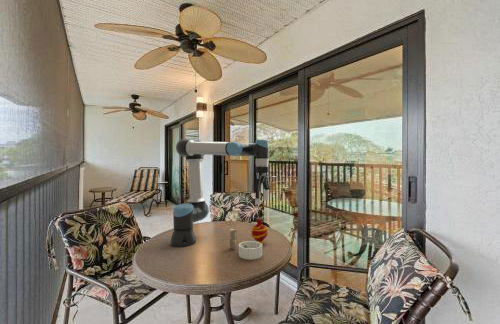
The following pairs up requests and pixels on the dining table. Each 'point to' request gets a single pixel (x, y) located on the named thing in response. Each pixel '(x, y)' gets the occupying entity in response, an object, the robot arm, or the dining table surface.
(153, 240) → the dining table surface
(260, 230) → the potion bottle
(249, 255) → the white round bowl
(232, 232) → the cream rectangular box
